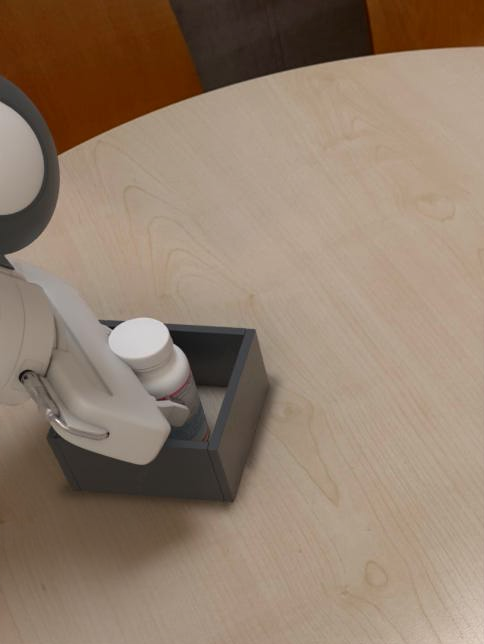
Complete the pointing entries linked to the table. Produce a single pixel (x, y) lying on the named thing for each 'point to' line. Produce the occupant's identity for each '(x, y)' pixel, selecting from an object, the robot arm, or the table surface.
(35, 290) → the robot arm
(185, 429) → the pill bottle
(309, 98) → the table surface
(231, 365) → the open box
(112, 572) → the table surface
